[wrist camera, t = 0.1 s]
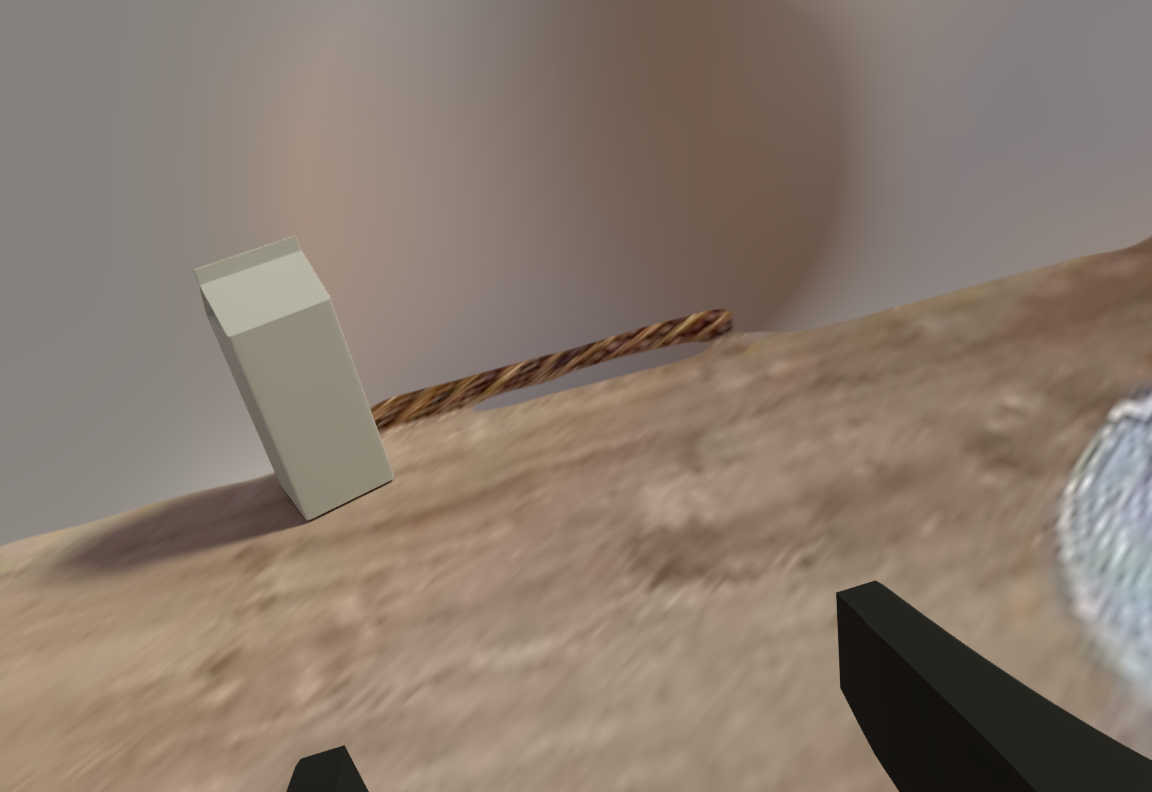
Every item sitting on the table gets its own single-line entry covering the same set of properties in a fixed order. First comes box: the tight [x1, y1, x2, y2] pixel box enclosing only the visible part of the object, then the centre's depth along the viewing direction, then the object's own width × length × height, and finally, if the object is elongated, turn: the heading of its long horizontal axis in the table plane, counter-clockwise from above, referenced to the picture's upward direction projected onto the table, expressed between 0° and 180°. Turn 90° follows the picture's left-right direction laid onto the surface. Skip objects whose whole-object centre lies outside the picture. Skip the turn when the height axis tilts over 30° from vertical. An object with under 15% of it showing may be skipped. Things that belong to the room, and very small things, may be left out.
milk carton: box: [193, 236, 394, 520], centre depth 61 cm, size 7×7×19 cm
